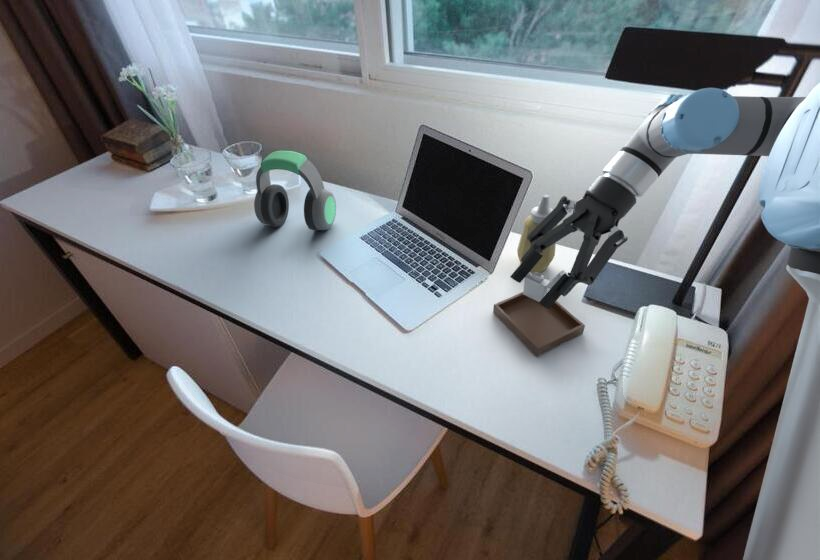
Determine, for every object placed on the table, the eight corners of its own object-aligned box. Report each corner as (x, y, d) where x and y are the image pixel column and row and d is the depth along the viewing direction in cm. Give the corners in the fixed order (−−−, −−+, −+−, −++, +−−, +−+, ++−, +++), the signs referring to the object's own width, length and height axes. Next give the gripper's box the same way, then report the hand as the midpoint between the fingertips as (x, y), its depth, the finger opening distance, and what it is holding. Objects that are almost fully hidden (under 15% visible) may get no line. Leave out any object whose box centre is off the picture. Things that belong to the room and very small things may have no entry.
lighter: (522, 293, 82) (527, 261, 77) (526, 289, 83) (532, 256, 78) (556, 310, 78) (565, 277, 73) (561, 305, 79) (569, 272, 74)
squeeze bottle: (520, 278, 95) (531, 208, 83) (511, 256, 101) (520, 187, 89) (557, 275, 95) (573, 204, 83) (545, 253, 101) (558, 184, 89)
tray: (582, 333, 82) (585, 325, 81) (536, 357, 78) (538, 349, 77) (536, 293, 91) (538, 285, 89) (492, 312, 87) (493, 304, 86)
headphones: (258, 233, 113) (234, 162, 100) (277, 211, 121) (256, 143, 108) (326, 240, 109) (310, 167, 96) (340, 216, 117) (327, 146, 104)
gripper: (677, 224, 67) (578, 333, 73) (583, 173, 81) (504, 268, 87) (666, 204, 62) (559, 323, 68) (566, 153, 76) (484, 256, 81)
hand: (529, 292), depth 77 cm, fingers closed on lighter, 7 cm apart
